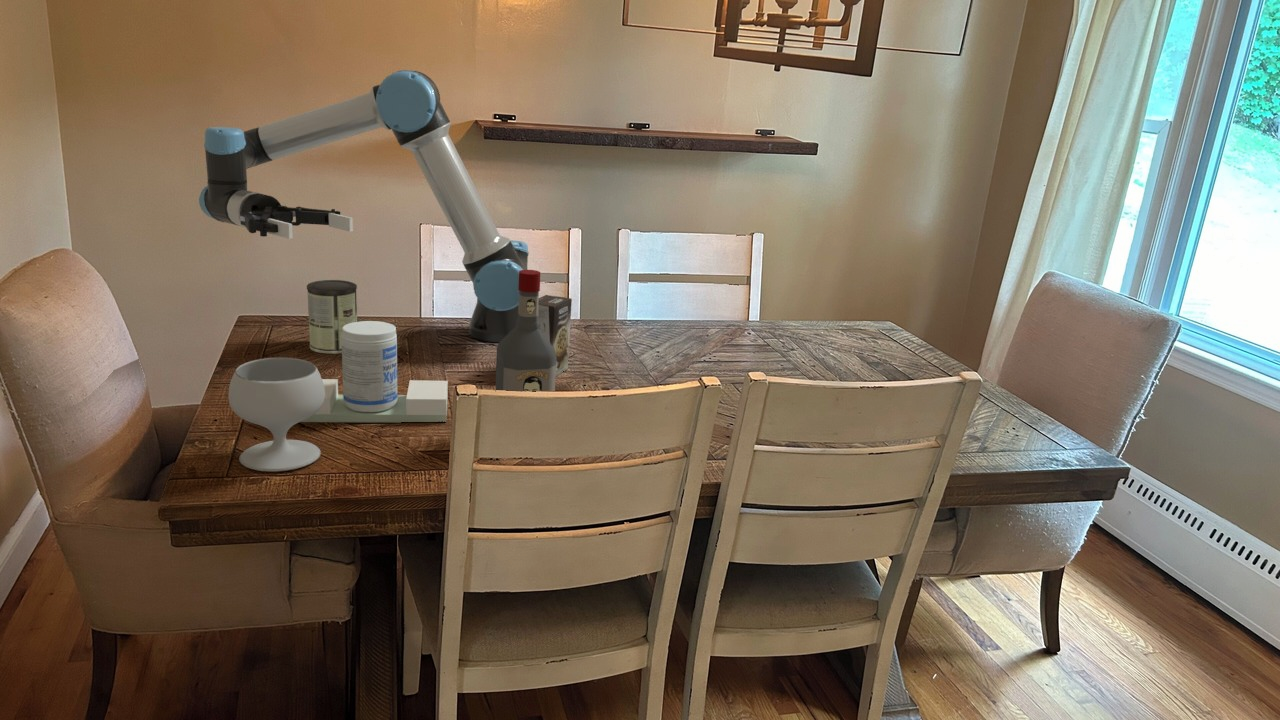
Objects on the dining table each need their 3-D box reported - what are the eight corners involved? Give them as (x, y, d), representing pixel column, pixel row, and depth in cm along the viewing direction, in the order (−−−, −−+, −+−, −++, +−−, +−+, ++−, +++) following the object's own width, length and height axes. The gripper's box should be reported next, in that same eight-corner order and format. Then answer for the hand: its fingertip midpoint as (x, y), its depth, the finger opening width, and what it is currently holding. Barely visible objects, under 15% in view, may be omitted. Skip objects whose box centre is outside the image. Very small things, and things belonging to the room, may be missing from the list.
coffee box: (551, 381, 188) (554, 306, 183) (523, 375, 190) (526, 301, 185) (569, 369, 196) (573, 297, 191) (542, 364, 198) (545, 293, 193)
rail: (447, 402, 171) (447, 380, 170) (446, 422, 162) (446, 399, 161) (298, 401, 166) (298, 378, 165) (288, 422, 157) (287, 397, 156)
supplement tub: (396, 414, 160) (396, 335, 156) (341, 414, 158) (338, 334, 153) (398, 395, 169) (397, 320, 165) (345, 395, 167) (343, 319, 162)
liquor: (491, 430, 160) (496, 266, 151) (541, 426, 164) (548, 265, 155) (503, 450, 152) (509, 278, 143) (555, 446, 156) (564, 278, 147)
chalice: (227, 479, 135) (220, 385, 130) (238, 442, 147) (232, 355, 143) (325, 473, 139) (322, 382, 134) (328, 438, 152) (325, 354, 147)
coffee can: (321, 338, 203) (319, 277, 199) (365, 342, 203) (364, 282, 198) (300, 351, 194) (297, 288, 189) (346, 356, 193) (345, 292, 189)
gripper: (309, 224, 194) (374, 240, 182) (198, 235, 174) (264, 254, 163) (308, 189, 191) (374, 203, 180) (195, 197, 171) (262, 213, 160)
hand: (322, 227), depth 171 cm, fingers open, 13 cm apart
